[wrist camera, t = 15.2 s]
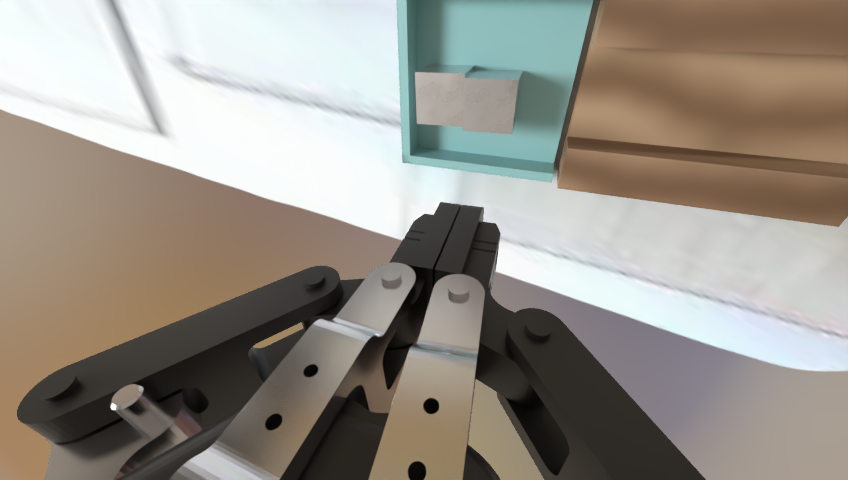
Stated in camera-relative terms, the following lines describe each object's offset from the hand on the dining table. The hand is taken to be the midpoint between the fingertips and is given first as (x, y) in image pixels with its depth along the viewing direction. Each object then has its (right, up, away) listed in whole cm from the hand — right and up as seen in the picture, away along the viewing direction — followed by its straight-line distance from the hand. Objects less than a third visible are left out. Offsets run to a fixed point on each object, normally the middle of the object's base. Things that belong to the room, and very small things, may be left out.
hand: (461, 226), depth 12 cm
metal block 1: (+1, +13, +18) cm, 22 cm away
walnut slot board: (+20, +10, +13) cm, 26 cm away
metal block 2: (+5, +12, +17) cm, 22 cm away
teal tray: (+4, +13, +17) cm, 22 cm away
